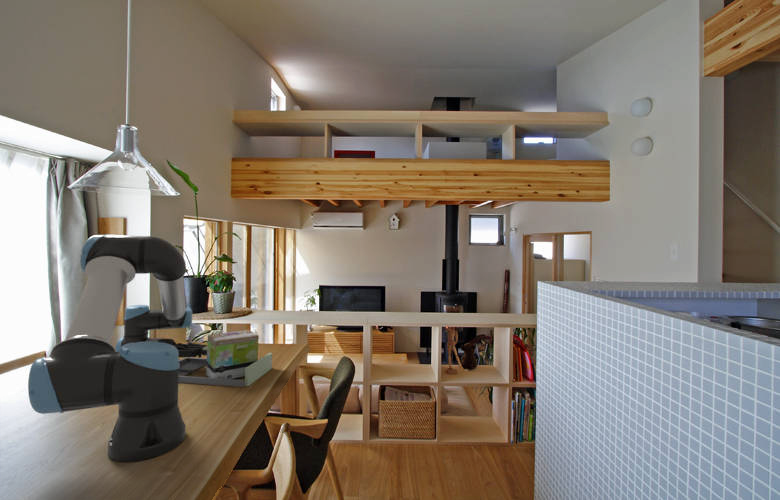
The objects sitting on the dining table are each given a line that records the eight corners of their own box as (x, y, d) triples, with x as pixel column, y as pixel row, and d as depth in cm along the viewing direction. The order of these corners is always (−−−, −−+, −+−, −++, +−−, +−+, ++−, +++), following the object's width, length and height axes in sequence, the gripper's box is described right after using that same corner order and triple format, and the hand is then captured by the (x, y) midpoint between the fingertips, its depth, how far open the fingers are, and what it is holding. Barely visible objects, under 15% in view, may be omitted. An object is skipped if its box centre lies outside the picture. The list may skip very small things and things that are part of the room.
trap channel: (243, 387, 119) (243, 381, 119) (146, 380, 122) (146, 374, 122) (269, 367, 139) (270, 362, 139) (186, 362, 142) (186, 357, 142)
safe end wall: (248, 386, 120) (248, 368, 120) (244, 385, 120) (245, 368, 120) (271, 368, 137) (272, 353, 137) (268, 368, 138) (269, 352, 138)
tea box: (214, 384, 120) (215, 341, 120) (205, 375, 128) (206, 334, 127) (258, 374, 131) (259, 334, 130) (247, 366, 138) (248, 328, 137)
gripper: (171, 353, 140) (229, 356, 138) (146, 364, 127) (209, 368, 125) (172, 334, 140) (229, 337, 138) (147, 343, 127) (210, 346, 125)
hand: (219, 352), depth 131 cm, fingers closed
